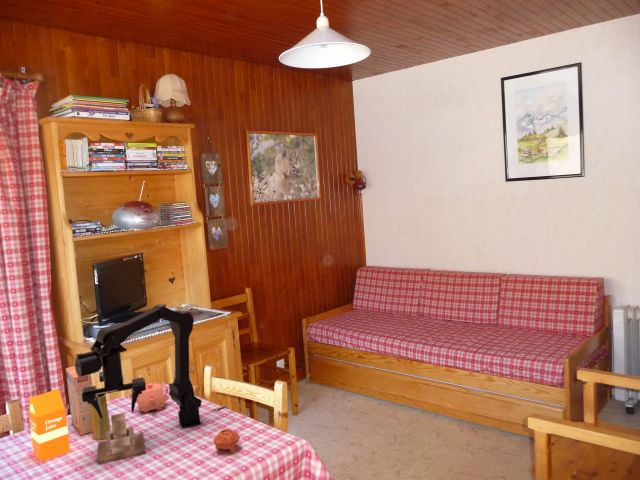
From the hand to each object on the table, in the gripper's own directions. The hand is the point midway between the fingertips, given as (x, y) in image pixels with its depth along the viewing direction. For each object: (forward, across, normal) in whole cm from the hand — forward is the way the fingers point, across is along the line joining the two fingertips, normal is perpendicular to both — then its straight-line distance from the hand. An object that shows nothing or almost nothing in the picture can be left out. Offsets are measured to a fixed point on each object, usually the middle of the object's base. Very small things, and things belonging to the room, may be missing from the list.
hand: (117, 415), depth 175 cm
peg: (+10, 0, 0) cm, 11 cm away
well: (+12, 0, 0) cm, 12 cm away
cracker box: (+12, +12, -25) cm, 30 cm away
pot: (+12, -31, +17) cm, 37 cm away
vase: (+12, +6, -14) cm, 19 cm away
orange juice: (+12, +21, -9) cm, 26 cm away
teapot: (+12, -11, -29) cm, 33 cm away
